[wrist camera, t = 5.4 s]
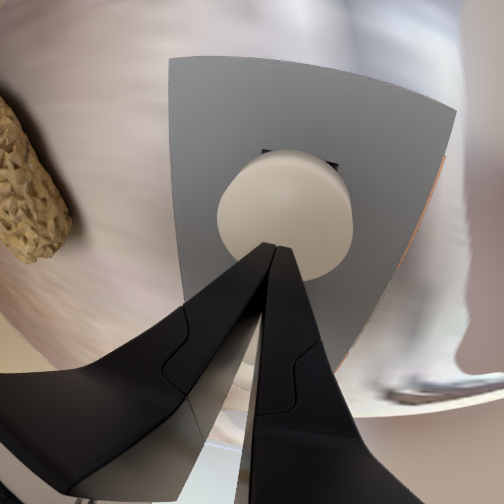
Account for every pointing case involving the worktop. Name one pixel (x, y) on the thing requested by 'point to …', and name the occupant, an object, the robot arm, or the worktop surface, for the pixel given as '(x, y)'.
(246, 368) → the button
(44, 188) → the sponge
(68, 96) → the worktop surface
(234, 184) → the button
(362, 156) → the board
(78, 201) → the worktop surface
